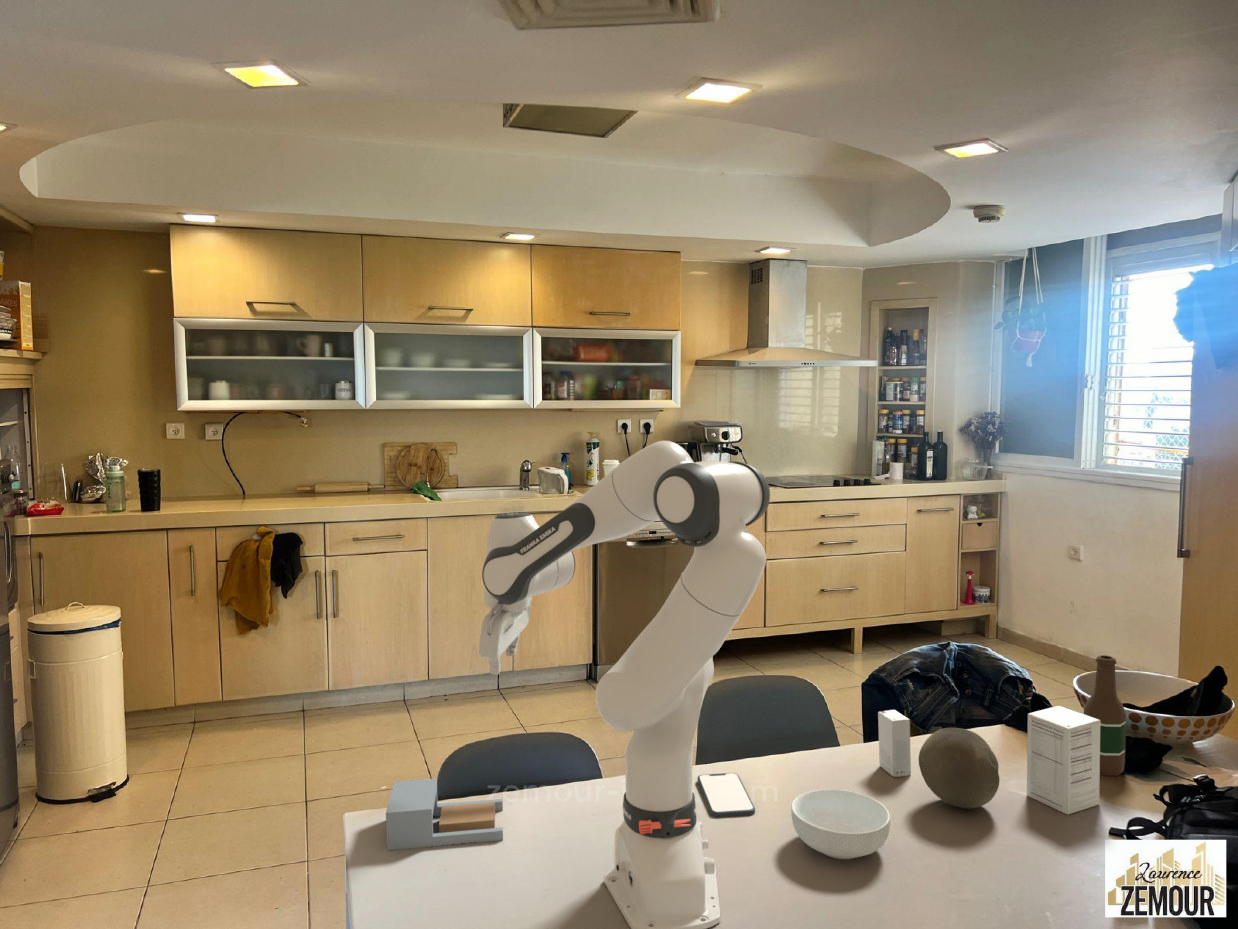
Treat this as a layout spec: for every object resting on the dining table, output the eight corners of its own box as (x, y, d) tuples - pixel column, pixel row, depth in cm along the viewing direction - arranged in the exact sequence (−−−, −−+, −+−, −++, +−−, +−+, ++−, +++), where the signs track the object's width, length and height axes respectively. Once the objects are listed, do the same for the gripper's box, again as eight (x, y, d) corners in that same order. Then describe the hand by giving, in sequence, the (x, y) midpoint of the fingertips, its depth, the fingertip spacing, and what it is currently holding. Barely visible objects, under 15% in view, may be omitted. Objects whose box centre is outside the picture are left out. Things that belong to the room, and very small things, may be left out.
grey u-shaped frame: (503, 840, 157) (501, 803, 156) (387, 850, 154) (385, 813, 153) (502, 807, 169) (501, 773, 168) (395, 816, 166) (394, 781, 166)
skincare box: (911, 775, 179) (912, 719, 178) (892, 778, 178) (892, 721, 177) (896, 763, 185) (896, 708, 184) (877, 765, 184) (877, 710, 183)
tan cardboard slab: (494, 835, 159) (494, 820, 159) (439, 840, 158) (438, 824, 158) (495, 817, 166) (494, 802, 166) (442, 821, 165) (441, 806, 165)
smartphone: (757, 818, 164) (737, 779, 180) (757, 810, 164) (737, 771, 180) (711, 821, 163) (696, 782, 179) (711, 813, 163) (695, 774, 179)
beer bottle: (1073, 764, 183) (1076, 653, 181) (1102, 758, 186) (1105, 649, 184) (1103, 779, 176) (1107, 664, 174) (1133, 773, 178) (1137, 660, 176)
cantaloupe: (950, 783, 175) (951, 712, 174) (1014, 811, 164) (1015, 734, 162) (904, 802, 168) (904, 728, 167) (967, 833, 156) (969, 753, 155)
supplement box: (1100, 805, 165) (1103, 720, 164) (1068, 816, 161) (1070, 729, 160) (1056, 785, 174) (1058, 704, 172) (1024, 795, 170) (1026, 712, 169)
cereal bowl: (908, 849, 151) (909, 810, 151) (854, 886, 140) (854, 844, 140) (827, 814, 164) (827, 778, 163) (771, 846, 153) (771, 807, 152)
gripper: (506, 615, 153) (501, 688, 155) (538, 582, 173) (533, 647, 175) (472, 610, 154) (468, 682, 156) (508, 578, 174) (504, 642, 176)
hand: (503, 663), depth 166 cm, fingers open, 8 cm apart
